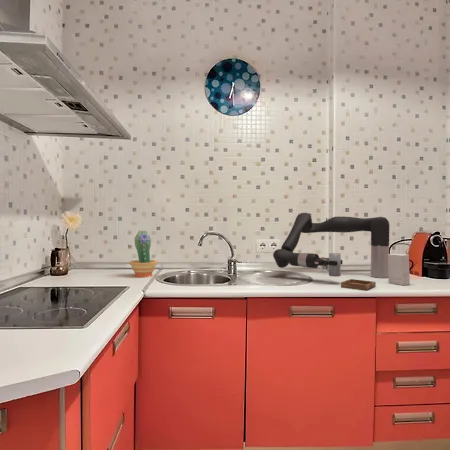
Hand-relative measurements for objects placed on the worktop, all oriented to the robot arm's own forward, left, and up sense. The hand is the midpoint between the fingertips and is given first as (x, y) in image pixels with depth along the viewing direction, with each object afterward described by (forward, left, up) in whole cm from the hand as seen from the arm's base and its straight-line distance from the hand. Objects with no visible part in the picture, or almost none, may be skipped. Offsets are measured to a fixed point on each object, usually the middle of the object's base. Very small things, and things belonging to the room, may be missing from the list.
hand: (339, 262), depth 184 cm
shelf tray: (+2, +10, -10) cm, 15 cm away
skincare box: (-20, +22, -11) cm, 32 cm away
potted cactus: (+48, -92, -11) cm, 104 cm away
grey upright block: (0, -2, -7) cm, 7 cm away
